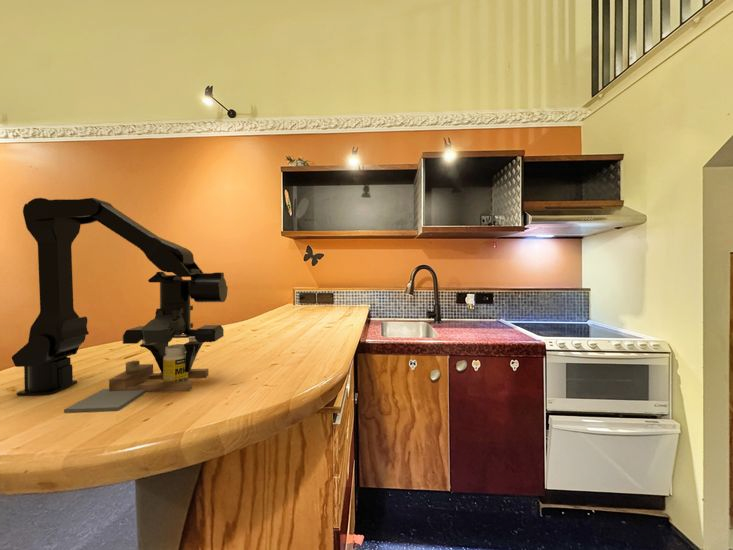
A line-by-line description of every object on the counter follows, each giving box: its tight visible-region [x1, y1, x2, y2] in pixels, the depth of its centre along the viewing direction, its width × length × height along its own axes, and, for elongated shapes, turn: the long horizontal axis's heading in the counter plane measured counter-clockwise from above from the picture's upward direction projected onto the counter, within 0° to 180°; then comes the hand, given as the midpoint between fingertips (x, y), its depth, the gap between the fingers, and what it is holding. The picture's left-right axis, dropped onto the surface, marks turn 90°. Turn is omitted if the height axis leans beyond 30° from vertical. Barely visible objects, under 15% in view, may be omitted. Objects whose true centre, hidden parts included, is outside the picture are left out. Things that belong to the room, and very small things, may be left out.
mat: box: [63, 388, 146, 414], centre depth 58 cm, size 9×9×1 cm
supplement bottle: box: [162, 343, 189, 382], centre depth 66 cm, size 5×5×8 cm
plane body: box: [108, 360, 209, 394], centre depth 66 cm, size 16×10×5 cm, turn 96°
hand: (175, 372), depth 66 cm, fingers closed on supplement bottle, 5 cm apart
